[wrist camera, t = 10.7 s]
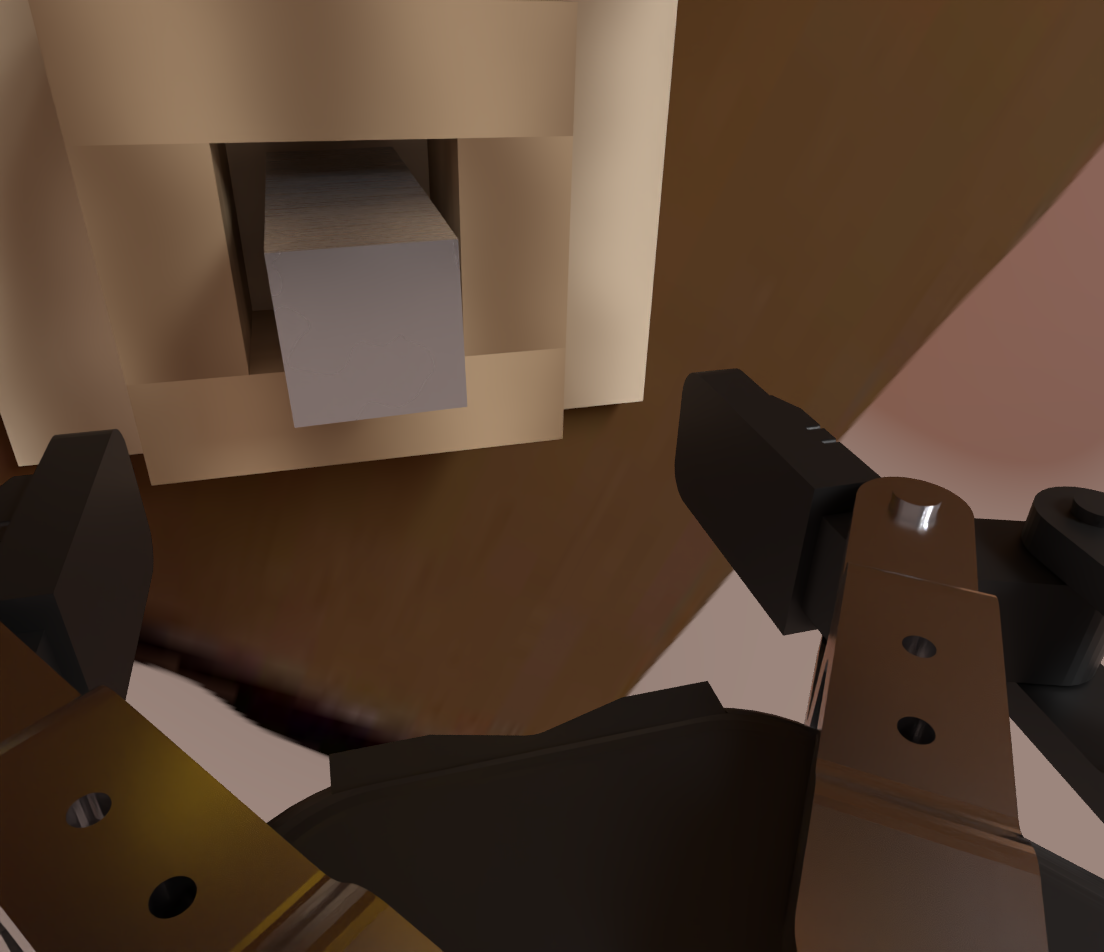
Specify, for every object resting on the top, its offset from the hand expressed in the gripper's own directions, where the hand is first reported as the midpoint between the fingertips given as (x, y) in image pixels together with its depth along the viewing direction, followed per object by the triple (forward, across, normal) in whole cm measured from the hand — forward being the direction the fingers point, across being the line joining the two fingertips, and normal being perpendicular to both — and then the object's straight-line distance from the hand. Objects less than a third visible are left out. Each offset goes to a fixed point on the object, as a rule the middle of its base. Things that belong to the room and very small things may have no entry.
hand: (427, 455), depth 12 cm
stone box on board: (+16, 0, 0) cm, 16 cm away
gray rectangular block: (+14, 0, 0) cm, 15 cm away
